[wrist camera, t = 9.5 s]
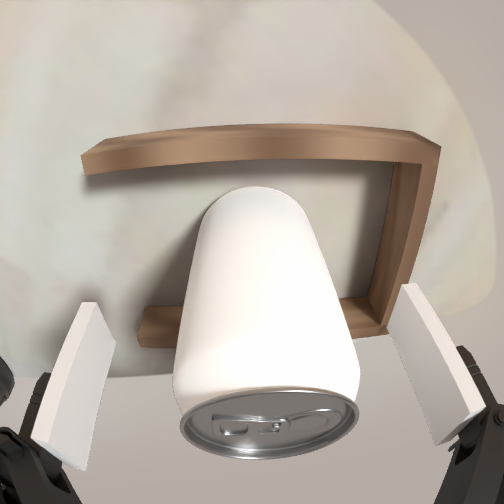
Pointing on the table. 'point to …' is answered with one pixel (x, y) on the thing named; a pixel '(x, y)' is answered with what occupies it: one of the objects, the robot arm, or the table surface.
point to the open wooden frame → (298, 147)
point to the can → (262, 335)
